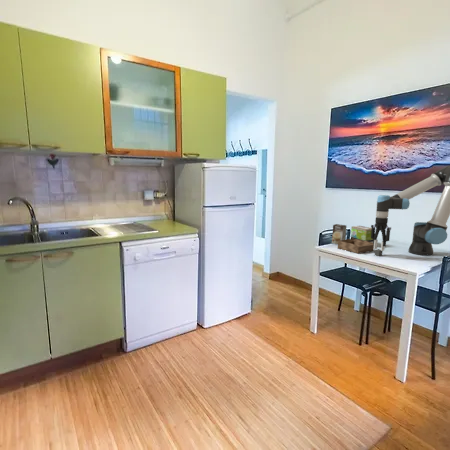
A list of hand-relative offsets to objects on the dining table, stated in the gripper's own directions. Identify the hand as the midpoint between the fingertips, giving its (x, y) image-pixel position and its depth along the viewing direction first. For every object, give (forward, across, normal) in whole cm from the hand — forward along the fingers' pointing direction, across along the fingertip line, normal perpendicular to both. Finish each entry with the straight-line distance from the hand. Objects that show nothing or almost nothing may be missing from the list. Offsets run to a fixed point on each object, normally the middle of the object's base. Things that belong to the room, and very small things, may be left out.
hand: (378, 249), depth 201 cm
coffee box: (+4, -39, +6) cm, 39 cm away
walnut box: (+4, -19, 0) cm, 19 cm away
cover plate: (+5, 0, 0) cm, 5 cm away
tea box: (+5, -28, +20) cm, 35 cm away
